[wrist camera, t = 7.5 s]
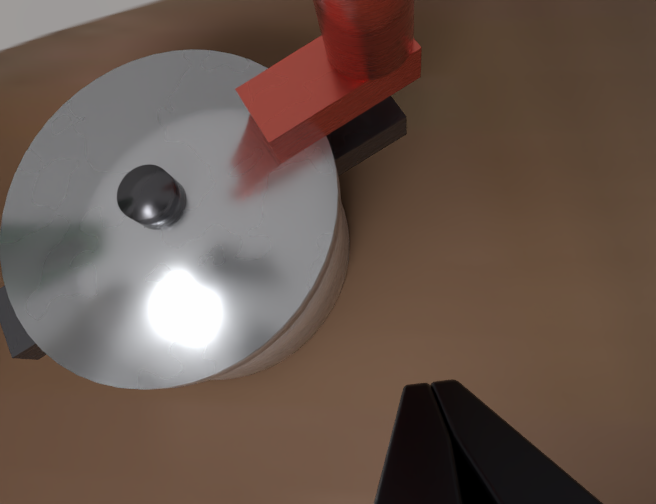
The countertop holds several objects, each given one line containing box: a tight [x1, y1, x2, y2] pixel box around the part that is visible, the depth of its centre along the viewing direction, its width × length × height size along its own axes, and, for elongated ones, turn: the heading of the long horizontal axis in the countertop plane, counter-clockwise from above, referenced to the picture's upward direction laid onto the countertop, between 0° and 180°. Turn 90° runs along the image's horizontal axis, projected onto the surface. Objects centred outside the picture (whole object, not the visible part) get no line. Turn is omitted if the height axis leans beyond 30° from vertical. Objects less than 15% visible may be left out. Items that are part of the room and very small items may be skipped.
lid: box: [0, 0, 421, 389], centre depth 12 cm, size 15×12×8 cm
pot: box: [0, 96, 406, 380], centre depth 19 cm, size 16×11×4 cm
